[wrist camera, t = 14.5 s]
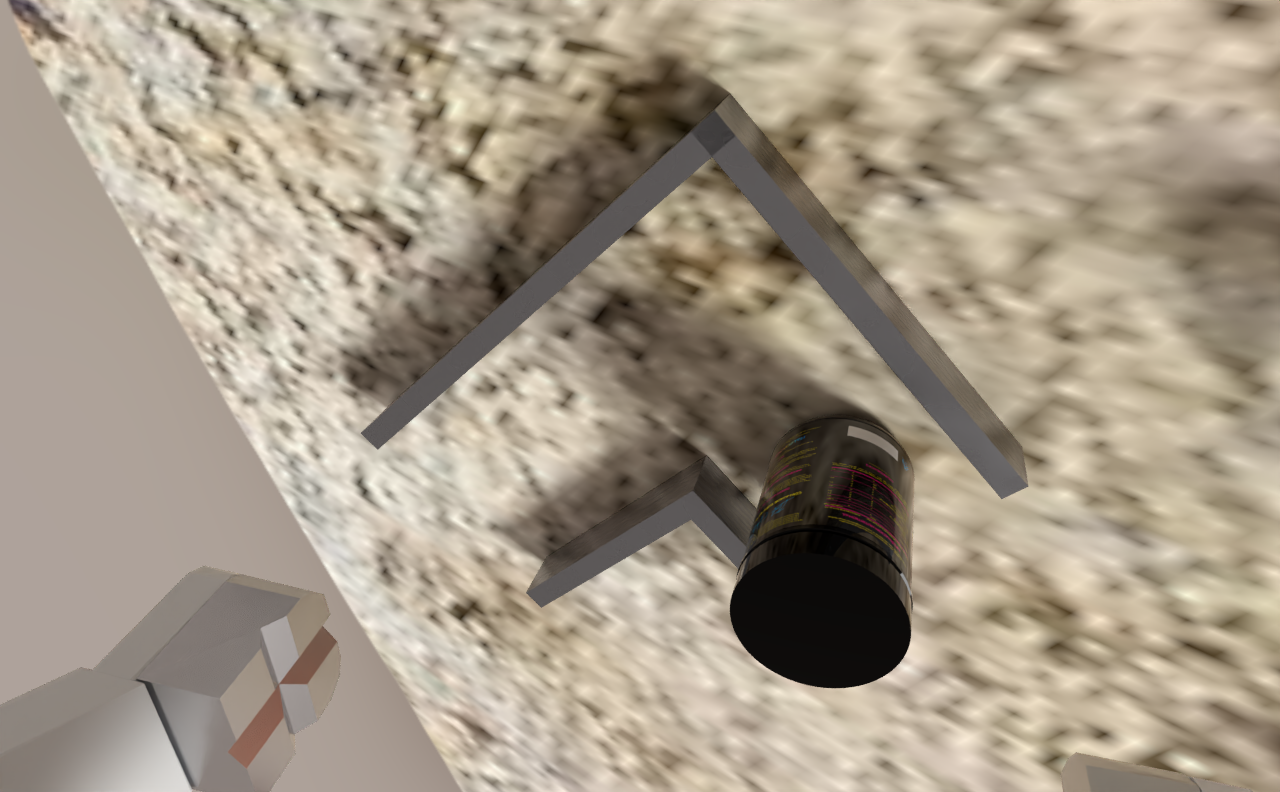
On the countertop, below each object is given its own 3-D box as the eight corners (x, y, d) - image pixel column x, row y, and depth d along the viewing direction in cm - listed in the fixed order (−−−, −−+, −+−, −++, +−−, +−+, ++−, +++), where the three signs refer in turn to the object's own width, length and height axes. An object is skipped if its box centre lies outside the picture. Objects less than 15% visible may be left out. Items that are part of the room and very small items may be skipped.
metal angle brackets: (390, 404, 47) (360, 433, 45) (730, 93, 34) (714, 110, 32) (634, 644, 51) (619, 682, 49) (1022, 446, 38) (1028, 486, 36)
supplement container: (750, 493, 44) (706, 645, 35) (800, 385, 40) (764, 525, 31) (879, 545, 43) (866, 713, 34) (941, 441, 39) (944, 599, 31)
